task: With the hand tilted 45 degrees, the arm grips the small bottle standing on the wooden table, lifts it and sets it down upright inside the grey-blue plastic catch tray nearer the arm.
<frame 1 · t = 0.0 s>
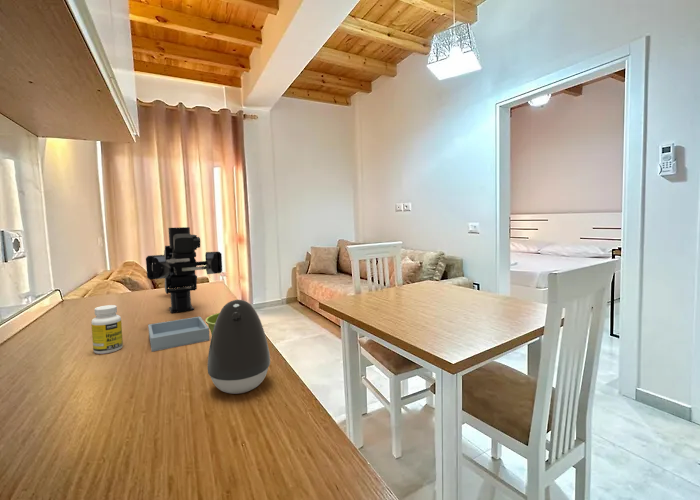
hand: (190, 268, 86), 17 cm above the counter, tool horizontal, fingers open, 9 cm apart
dark grey egg-shaped device: (240, 387, 58), on the counter
plant pot: (232, 357, 71), on the counter
catch tray: (178, 338, 82), on the counter
supplement bottle: (108, 350, 75), on the counter
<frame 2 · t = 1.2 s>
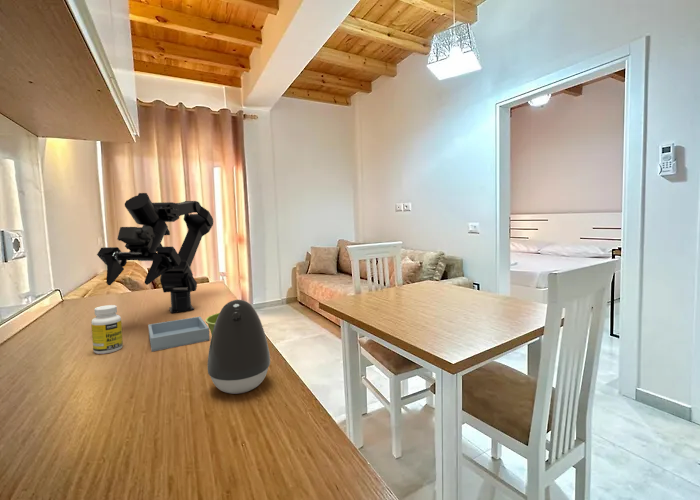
hand: (127, 284, 82), 13 cm above the counter, tool tilted 45°, fingers open, 9 cm apart
nothing on the counter moved.
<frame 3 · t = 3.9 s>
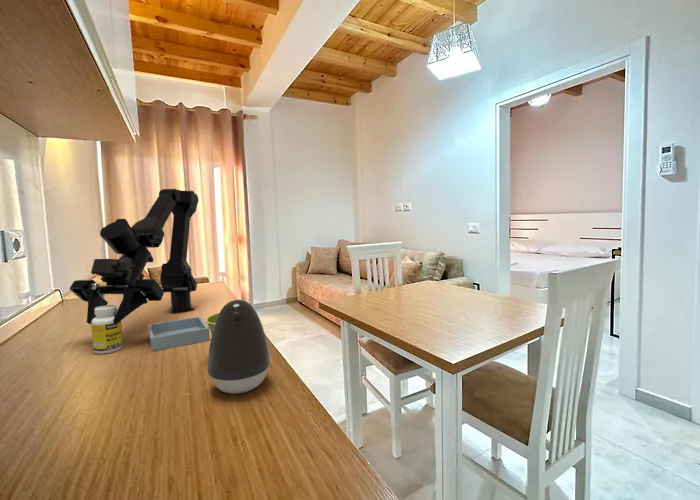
hand: (101, 323, 73), 7 cm above the counter, tool tilted 45°, fingers closed on supplement bottle, 5 cm apart
supplement bottle: (108, 350, 75), on the counter, touching gripper
everything else where it was.
when the fingers open (8 cm above the counter, at t = 7.3 s): supplement bottle stays where it is, resting on catch tray.
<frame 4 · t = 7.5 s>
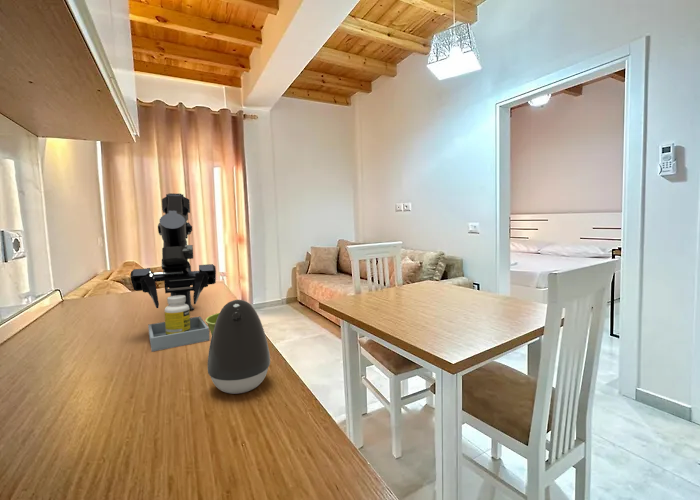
hand: (176, 305, 80), 9 cm above the counter, tool tilted 45°, fingers open, 8 cm apart
supplement bottle: (178, 336, 82), resting on catch tray
everything else where it was.
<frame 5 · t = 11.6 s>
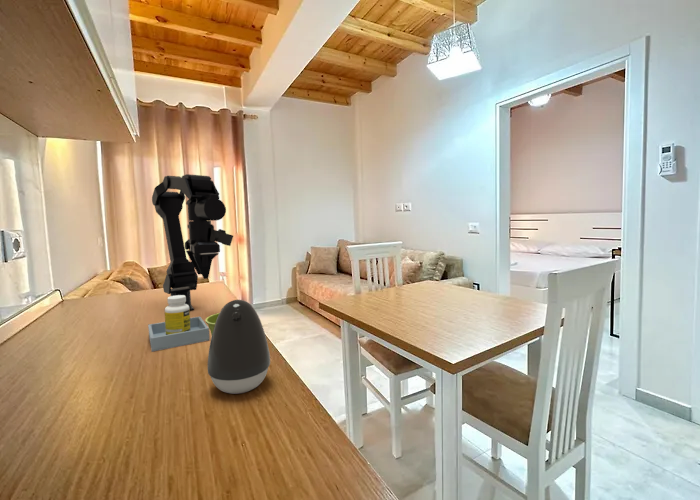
hand: (202, 276, 94), 13 cm above the counter, tool pointing down, fingers open, 9 cm apart
nothing on the counter moved.
at the end: supplement bottle inside the target area on the catch tray (0.2 cm from its centre), point 0.3 cm above the catch tray's base; supplement bottle tilted 0°; the gripper is holding nothing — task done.
